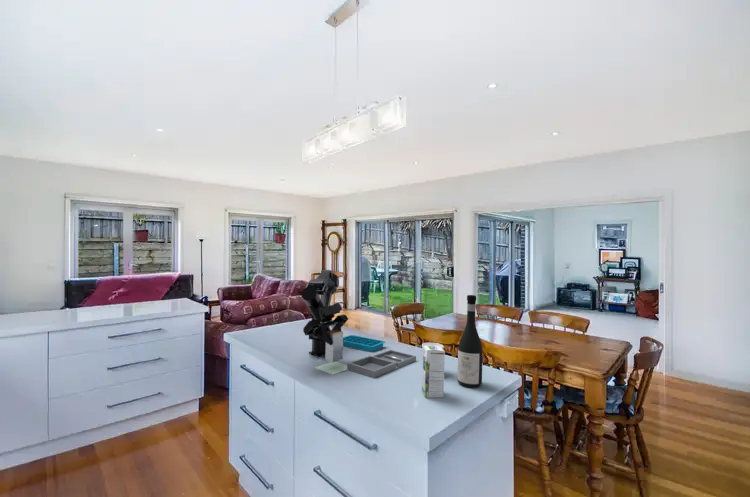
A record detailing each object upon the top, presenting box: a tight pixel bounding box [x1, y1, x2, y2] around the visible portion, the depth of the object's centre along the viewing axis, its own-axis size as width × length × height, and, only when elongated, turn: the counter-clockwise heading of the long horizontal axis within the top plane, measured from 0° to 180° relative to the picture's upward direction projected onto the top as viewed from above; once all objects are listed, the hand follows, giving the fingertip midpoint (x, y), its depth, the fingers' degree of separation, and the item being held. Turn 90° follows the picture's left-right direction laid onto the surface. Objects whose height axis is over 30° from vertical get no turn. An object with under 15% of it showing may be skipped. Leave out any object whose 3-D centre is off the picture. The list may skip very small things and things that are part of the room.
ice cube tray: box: [343, 334, 386, 352], centre depth 161 cm, size 12×20×3 cm, turn 56°
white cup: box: [421, 342, 445, 365], centre depth 129 cm, size 8×8×10 cm
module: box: [324, 329, 344, 363], centre depth 130 cm, size 4×5×10 cm
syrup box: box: [421, 345, 446, 399], centre depth 109 cm, size 6×6×14 cm
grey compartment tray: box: [346, 349, 417, 379], centre depth 135 cm, size 13×27×2 cm, turn 141°
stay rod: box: [384, 355, 403, 361], centre depth 140 cm, size 10×1×1 cm, turn 51°
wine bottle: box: [457, 294, 484, 389], centre depth 118 cm, size 8×8×30 cm
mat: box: [313, 361, 349, 375], centre depth 130 cm, size 10×10×1 cm
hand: (337, 343), depth 129 cm, fingers closed on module, 5 cm apart
